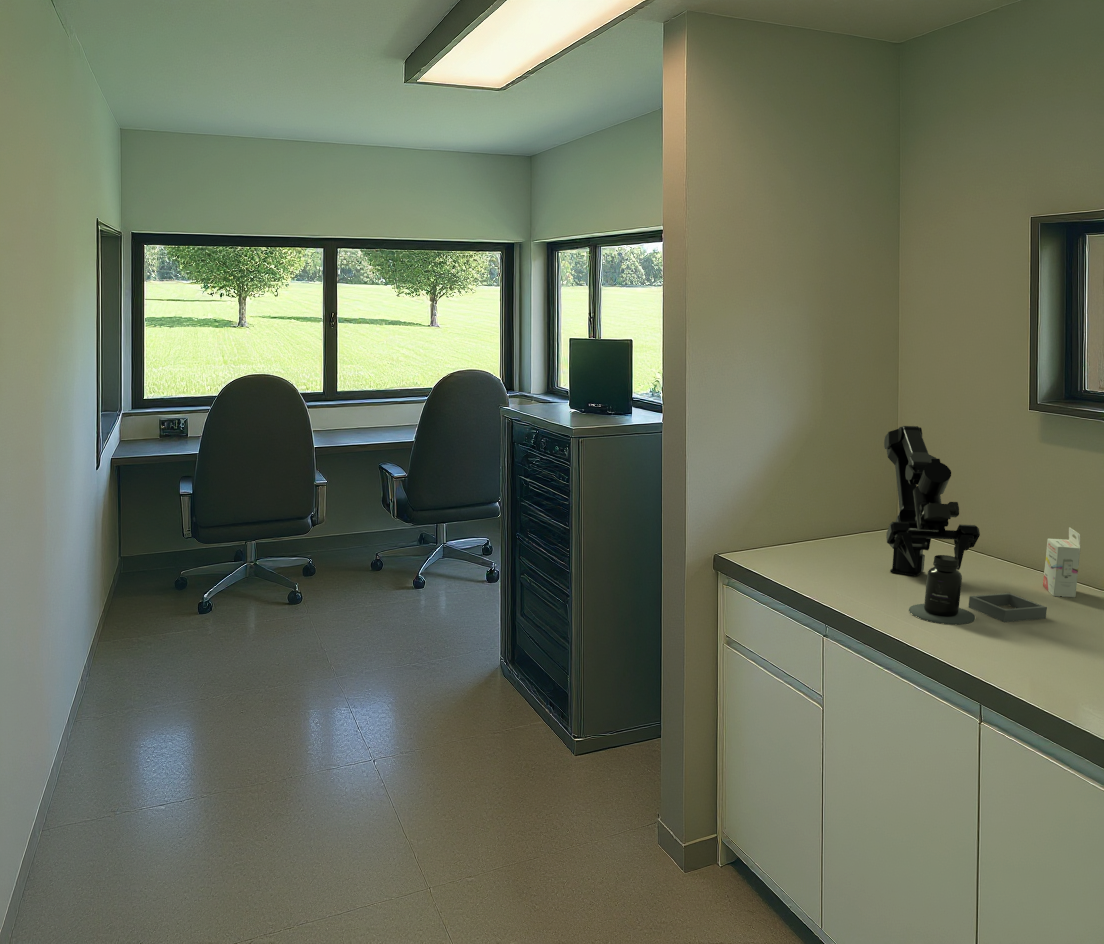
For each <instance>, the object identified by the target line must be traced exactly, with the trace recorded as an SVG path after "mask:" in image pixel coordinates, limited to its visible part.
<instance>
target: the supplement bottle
mask: <svg viewBox="0 0 1104 944" xmlns="http://www.w3.org/2000/svg"><path fill="white" fill-rule="evenodd" d="M932 563H933V564H932V565H933V567H931V568H929V569H928V571H927V573H926V583H925V592H924V603H923V604H924V609H925V611H926V612H928V613H930V614H932V615H936V616H942V617H953V616H956V615H957V614H958V611H959V608H960V603H961V602H960V601H961V593H962V583H963V582H962V581H963V575H962V573H961V572H960V571H959V570H957V568H958V566H959V565H958V563H959V559H958V558H956V557H955V556H952V555H948V554H947V555H945V554H938V555H935V556H934V557H933V562H932Z"/></svg>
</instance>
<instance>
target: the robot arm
mask: <svg viewBox="0 0 1104 944" xmlns="http://www.w3.org/2000/svg"><path fill="white" fill-rule="evenodd" d="M883 447H884V450H886V455H887V458H888V460H889V461H890V462H891V463H892V464H893V465H894V468H895V476H896V477H895V479H896V487H897V495H898V508H899V509H898V510H899V513H898V514H897V516H896V519H895V520H894V521H892V522H891V523H889V526H888V528H887V531H886V535H885V536H886V543H887V544H888V545H889V546H890V547H891V548H892V550H893V554H892V567H891V568H890V570H889V573H894V574H900V575H901V574H902V575H906V576H912V577H914V576H915V577H918V576H919V575H920V574H922V573H923V572H924V571H925V560H926V559H925V557H926V556H925V554H924V551H929V550H930V547H931V542H932V539H936V540H953V543H954V548H953V552H954V557H956V558H958V559H959V563H958V565H959V566H958V568H957V570H958V571H959V570H960V569H961V566H962V562H963V558H964V553H965V551H968V550H969V549H972V548H974V547H975V546H976V543H977V542H978V539H979V537H981V533H980V528H979V527H978V526H977V525H976V524H962V523H961V524H959V525H958V526H957V529H956V530H951V529H950V530H949V529H946V527H948V526H949V520H951V518H957V517H959V515H960V506H959V502H958V501H949V502H947V503H942V497H941V495H943V494H944V493H945V491H946V488H947V486H948V483H949V481H950V479H951V477H952V471H951V469H950V467H949V466H948V465H947V464H945V463H943V462H941V458H937V457H935V456H934V455H931V454H930V453H929V451H928V449H927V446H926V443H925V441H924V438H923V431H922V427H920V426H918V425H917V426H916V425H902V426H899V427H898V428H897V429H896V428H895V429H893V430H890V431H888V432H887V434H886V435H885V436H884V442H883Z"/></svg>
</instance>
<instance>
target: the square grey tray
mask: <svg viewBox="0 0 1104 944" xmlns="http://www.w3.org/2000/svg"><path fill="white" fill-rule="evenodd" d="M1001 606H1009V607H1012V608H1003V607H1001ZM968 608H969V609H972V610H974V611H977V612H979V613H981V614H983V615H986V616H988V617H991V618H992V619H995V620H998V621H1000V622H1003V623H1012V622H1023V621H1032V620H1033V621H1034V620H1043V619H1046V620H1047V611H1048V607H1047V606H1045V605H1043V604H1041V603H1037V602H1034V601H1032V600H1029V599H1027V598H1024V597H1021V596H1019V595H1016V594H1014V593H1011V592H1005V593H1003V592H1002V593H992V594H991V593H990V594H989V593H988V594H980V595H978V594H977V595H969V597H968Z"/></svg>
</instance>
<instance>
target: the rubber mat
mask: <svg viewBox="0 0 1104 944" xmlns="http://www.w3.org/2000/svg"><path fill="white" fill-rule="evenodd" d="M909 611H910V613H912V614H913V615H914V616H913V615H912V616H913V617H915V616H917V617H919V618H921V619H920V620H922V619H925V620H924V621H926V620H928V621H927V622H930V621H932V622H931V623H935V622H936V624H941V623H944V624H943V625H955V624H957V625H967V624H971V623H973V622H974V621H975V620H976V615H975V614H974V613H973V612H971V611H969V610H966V609H964V608H961V607H959V611H958V614H957V615H956V616H953V617H942V616H936V615H932V614H930V613H928V612H926V611H925V609H924V603H917V604H913V605H911V606H910V607H909V608H908V612H909ZM910 613H909V614H910ZM917 617H916V618H917ZM919 618H918V619H919Z"/></svg>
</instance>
